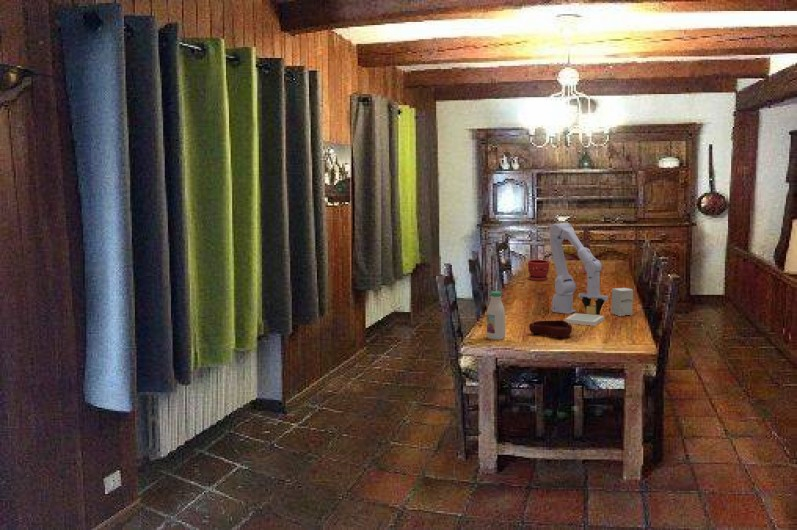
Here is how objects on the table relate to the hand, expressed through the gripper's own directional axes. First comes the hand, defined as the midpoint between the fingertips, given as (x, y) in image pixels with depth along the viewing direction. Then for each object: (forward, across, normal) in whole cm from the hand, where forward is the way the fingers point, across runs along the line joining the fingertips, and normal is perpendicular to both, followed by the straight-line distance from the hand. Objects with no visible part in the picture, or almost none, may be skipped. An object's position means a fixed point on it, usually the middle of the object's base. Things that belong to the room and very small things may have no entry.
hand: (593, 313), depth 344 cm
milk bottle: (+2, -13, -62) cm, 63 cm away
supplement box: (+2, +9, +12) cm, 15 cm away
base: (+1, +2, -12) cm, 12 cm away
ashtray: (+2, +3, -42) cm, 42 cm away
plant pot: (+2, -78, +79) cm, 111 cm away
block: (+1, 0, 0) cm, 1 cm away
